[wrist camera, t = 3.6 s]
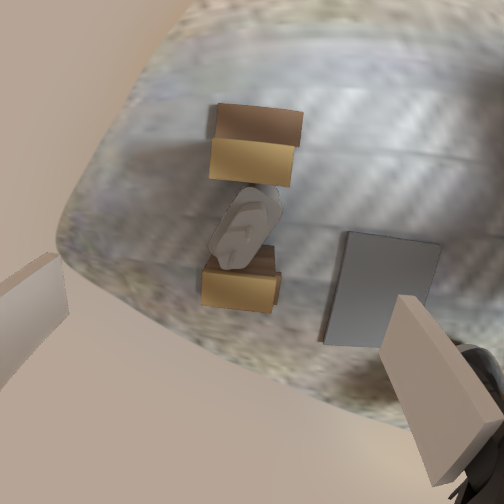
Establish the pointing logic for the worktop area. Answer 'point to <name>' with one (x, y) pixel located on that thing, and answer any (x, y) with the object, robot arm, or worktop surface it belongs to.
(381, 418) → the worktop surface
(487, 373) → the pump dispenser
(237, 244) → the power adapter
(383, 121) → the worktop surface
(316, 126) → the worktop surface
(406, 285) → the mat
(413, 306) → the robot arm
